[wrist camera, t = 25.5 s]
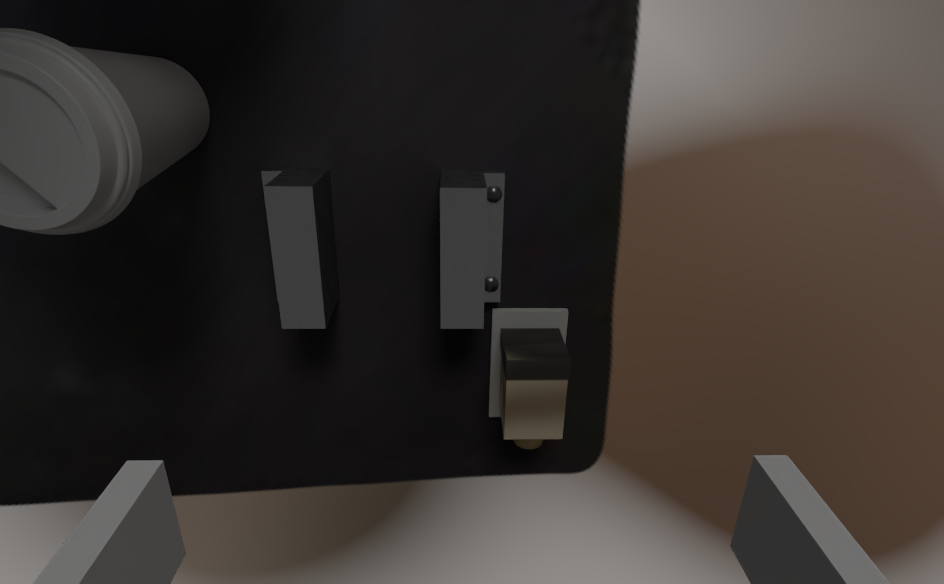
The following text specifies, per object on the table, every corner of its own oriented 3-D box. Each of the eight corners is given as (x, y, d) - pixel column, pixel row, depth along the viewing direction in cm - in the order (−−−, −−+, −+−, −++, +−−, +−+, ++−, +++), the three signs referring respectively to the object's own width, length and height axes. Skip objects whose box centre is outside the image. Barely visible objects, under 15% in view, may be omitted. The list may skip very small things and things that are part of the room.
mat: (492, 308, 46) (492, 311, 46) (566, 308, 47) (568, 311, 46) (488, 412, 50) (489, 416, 50) (557, 412, 51) (558, 416, 50)
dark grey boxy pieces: (265, 167, 41) (239, 185, 36) (503, 170, 42) (510, 188, 37) (281, 296, 45) (260, 328, 40) (498, 296, 46) (504, 328, 41)
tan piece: (500, 328, 46) (506, 360, 42) (559, 328, 47) (571, 360, 42) (497, 421, 50) (501, 461, 45) (551, 421, 50) (561, 460, 46)
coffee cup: (57, 61, 38) (-164, 75, 24) (187, 8, 37) (33, -9, 23) (137, 196, 42) (-15, 273, 28) (257, 151, 41) (160, 208, 27)
